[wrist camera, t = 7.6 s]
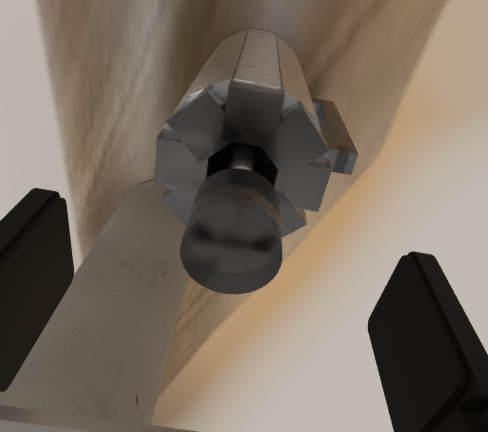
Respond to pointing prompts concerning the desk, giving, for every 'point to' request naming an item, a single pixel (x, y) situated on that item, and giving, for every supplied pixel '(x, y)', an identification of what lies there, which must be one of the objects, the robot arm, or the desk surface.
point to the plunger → (234, 229)
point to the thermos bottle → (112, 320)
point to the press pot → (253, 128)
